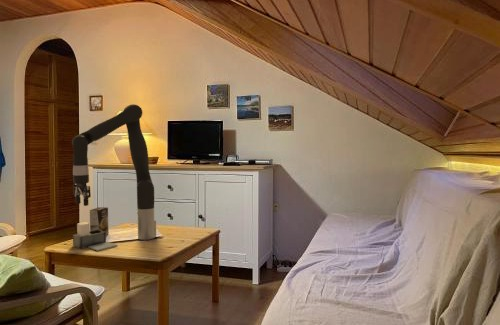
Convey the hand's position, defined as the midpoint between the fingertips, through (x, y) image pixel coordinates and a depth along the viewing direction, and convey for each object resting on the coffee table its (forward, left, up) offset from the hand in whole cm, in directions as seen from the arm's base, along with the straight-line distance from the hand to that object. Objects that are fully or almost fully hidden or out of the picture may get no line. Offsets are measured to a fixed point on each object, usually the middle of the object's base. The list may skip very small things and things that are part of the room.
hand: (82, 204), depth 200 cm
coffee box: (-15, -11, -22) cm, 29 cm away
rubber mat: (-5, +10, -22) cm, 25 cm away
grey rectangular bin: (-3, 0, -22) cm, 22 cm away
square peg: (0, 0, -22) cm, 22 cm away
